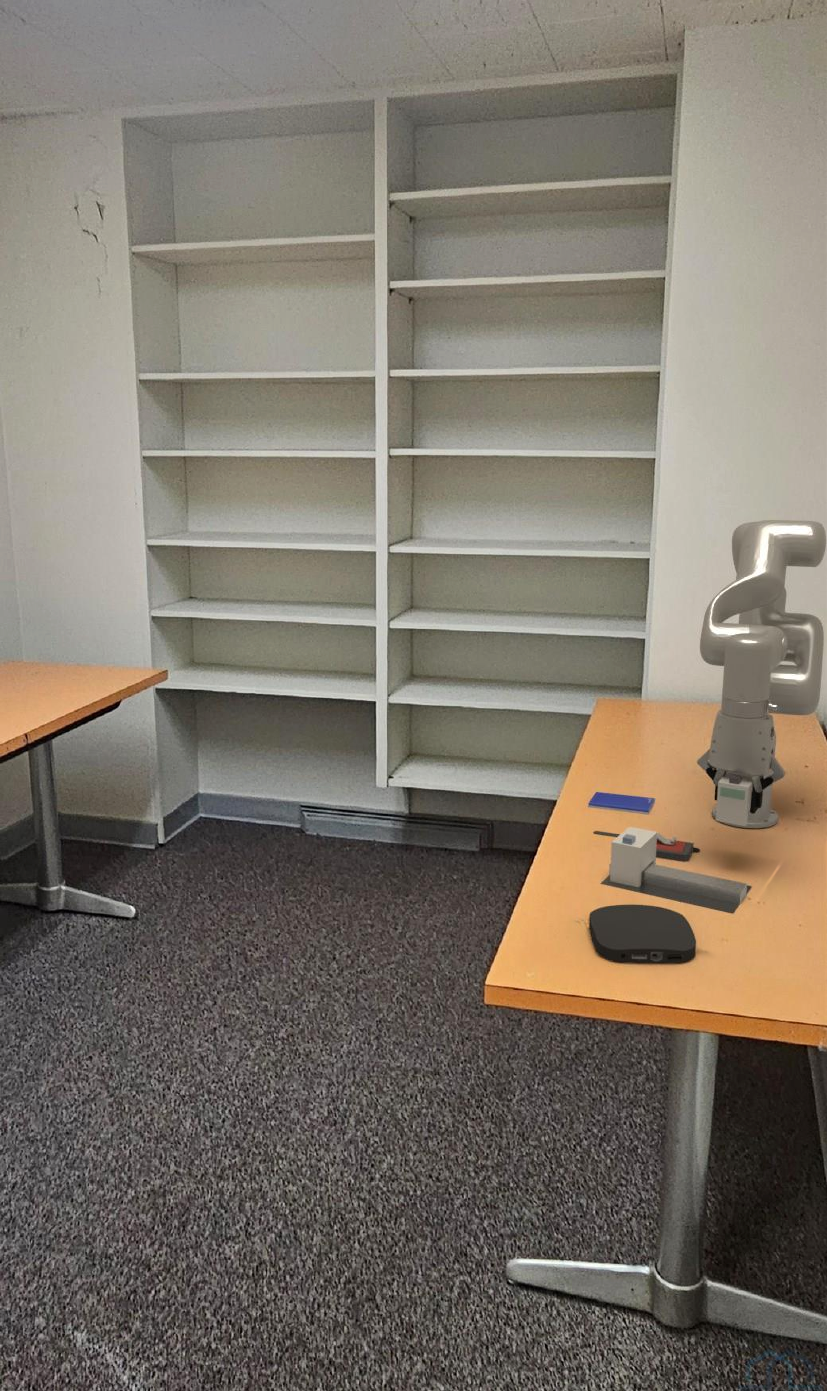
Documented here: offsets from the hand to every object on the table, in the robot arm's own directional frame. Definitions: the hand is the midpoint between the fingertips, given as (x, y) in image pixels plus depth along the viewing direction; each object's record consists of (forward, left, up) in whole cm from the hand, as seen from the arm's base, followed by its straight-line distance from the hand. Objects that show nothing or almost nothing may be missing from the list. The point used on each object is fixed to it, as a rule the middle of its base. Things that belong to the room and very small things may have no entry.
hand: (737, 806), depth 174 cm
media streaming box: (+34, -5, -12) cm, 36 cm away
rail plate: (+14, -6, -12) cm, 19 cm away
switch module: (0, 0, -2) cm, 2 cm away
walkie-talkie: (0, -16, -12) cm, 20 cm away
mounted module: (+14, -13, -11) cm, 22 cm away
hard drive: (-22, -29, -12) cm, 38 cm away
